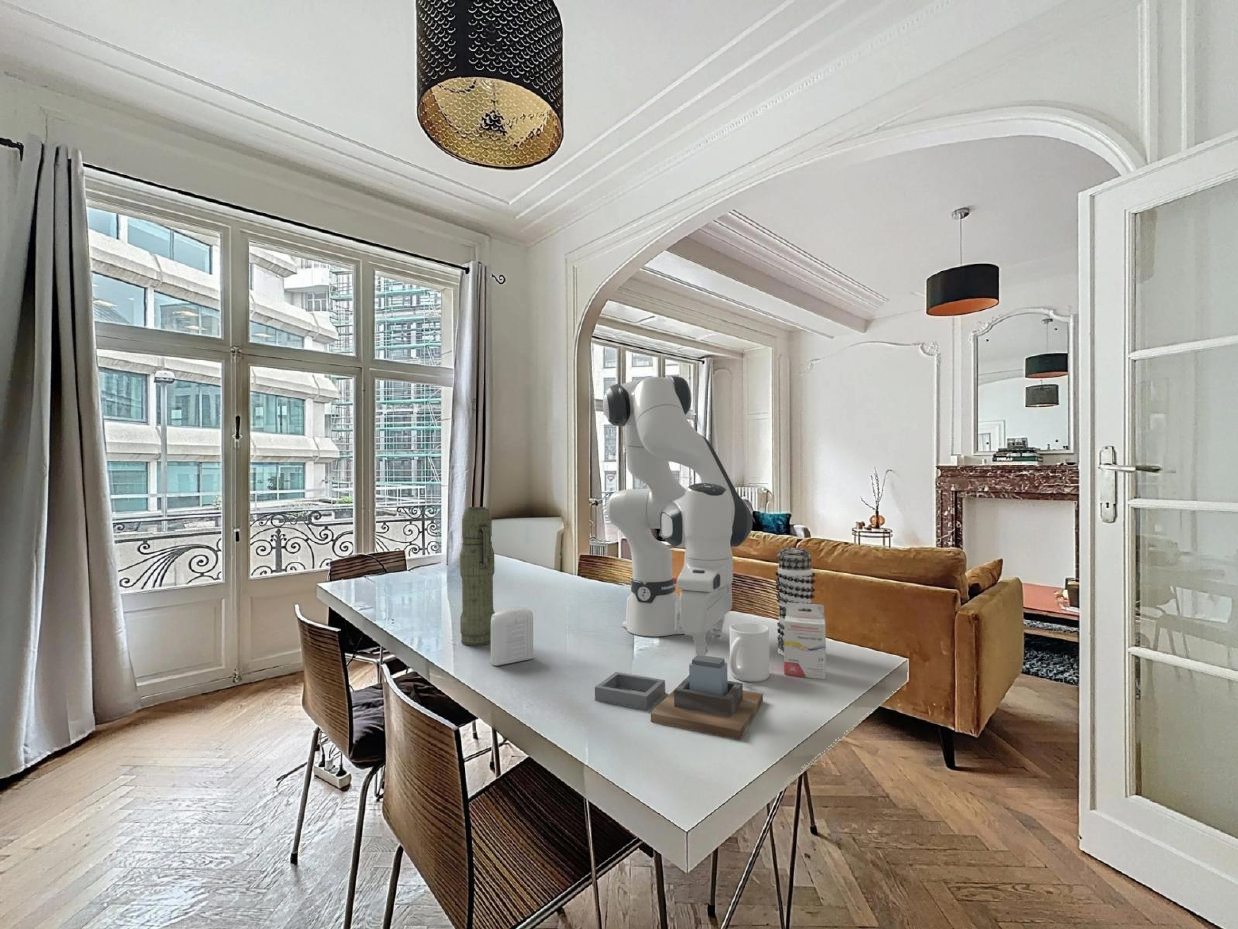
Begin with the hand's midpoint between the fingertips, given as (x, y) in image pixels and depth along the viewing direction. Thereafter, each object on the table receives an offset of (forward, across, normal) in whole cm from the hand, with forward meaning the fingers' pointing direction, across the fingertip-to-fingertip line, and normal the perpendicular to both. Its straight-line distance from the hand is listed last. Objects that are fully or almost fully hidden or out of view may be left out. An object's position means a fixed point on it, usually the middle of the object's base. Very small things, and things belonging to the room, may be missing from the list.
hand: (709, 646), depth 105 cm
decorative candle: (+13, -39, +9) cm, 42 cm away
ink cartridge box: (+12, -26, +13) cm, 32 cm away
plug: (+10, +1, 0) cm, 10 cm away
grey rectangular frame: (+12, +1, -16) cm, 20 cm away
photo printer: (+12, -7, -50) cm, 52 cm away
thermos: (+12, -16, -68) cm, 71 cm away
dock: (+12, +1, 0) cm, 12 cm away
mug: (+12, -18, +2) cm, 22 cm away
